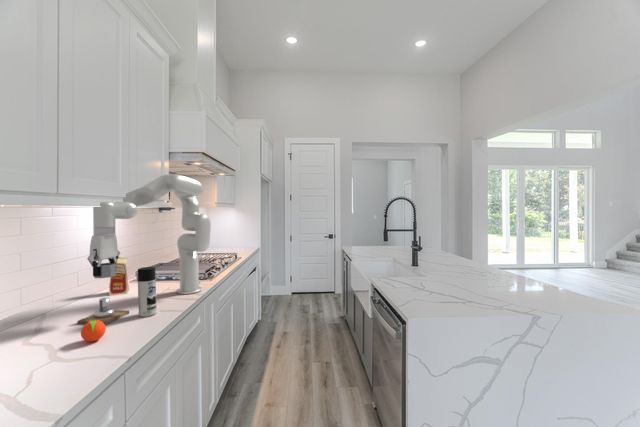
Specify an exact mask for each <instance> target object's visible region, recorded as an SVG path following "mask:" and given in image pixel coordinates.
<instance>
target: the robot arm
mask: <svg viewBox="0 0 640 427" xmlns="http://www.w3.org/2000/svg"><path fill="white" fill-rule="evenodd" d="M203 191H204V188H203V184H202V183H201V182H200V181H198V180H197V179H195V178H191V177H188V176H185V175H182V174H178V173H174V174H173V173H172V174H162V175H159V177H156V178H154V180H152V181H150V182H148V183H147V184H144V185H143V186H141V187H139V188H136V189H134V190H131V191H129V192H127V193H125V194H126V197H125V198H123V202H115V203H113V202H111V201H100V202H101V203H100V206H101V207H93V208H92V214H93V215H92V216H93V217H92V218H93V221H92V223H93V232H92V233H93V235H92V236H91V239H90V244H89V255H88V256H87V258H86V259H87V262H89V264H90V265H91V267H92V277H94V276H99V277H100V276H101V275H102V267H101V266H100V265H101V263H103V262H102V261H103V260H108V263H115V264H116V263H117V259H118V258H119V257H120V255H121V252H120V251H119V250H118V240H117V234H116V220H130V219H132V218H134V217H135V216H136V215H137V214H138V207H139V206H140V207H141V206H145V205H149V204H153V203H154V202H157V200H159V199H161V198H162V197H164V196H165V195H167V194H169V193H170V192H173V193H174V194H175V196H177V198H178V199H179V200H180V202H181V205H182V213H181V228H182V229H183V230H184V231H187V232H188V233H183V234H181V235H180V236H179V237H178V238H177V242H176V243H177V250H178V258H179V288H178V289H177V290H176V293H177V294H179V295H190V294H197V293H199V292H201V291H202V290H203V288H202V287H201V286H200V284H202V283H201V282H202V281H201V280H200V278H199V277H200V276H199V269H200V267H199V266H200V265H199V255H198V253H202V252H205V251H206V250H208V249H209V246H210V241H211V227H212V226H211V219H210V218H209V216H208V215H207V214H204V213H200V203H199V201H198V198H197V197H199V196H201V195H202V193H203ZM190 232H195V233H190ZM197 252H198V253H197Z"/></svg>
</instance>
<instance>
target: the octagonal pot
mask: <svg viewBox="0 0 640 427" xmlns="http://www.w3.org/2000/svg"><path fill="white" fill-rule="evenodd" d="M100 266H101V267H102V275H101V276H100V277H99V276H93V278H94V279H105V278H106V279H107V278H110V277H113V276H116V264H115V263H110V262H101V265H100Z"/></svg>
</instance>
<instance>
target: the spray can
mask: <svg viewBox="0 0 640 427" xmlns="http://www.w3.org/2000/svg"><path fill="white" fill-rule="evenodd" d="M156 281H157V277H156V267H154V266H144V267H139V268H137V296H138V297H137V300H138V302H137V303H138V306H137V307H138V316H139V317H140V318H147V317H152V316H155V315H156V314H157V288H156V287H157V284H156V283H157V282H156Z"/></svg>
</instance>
